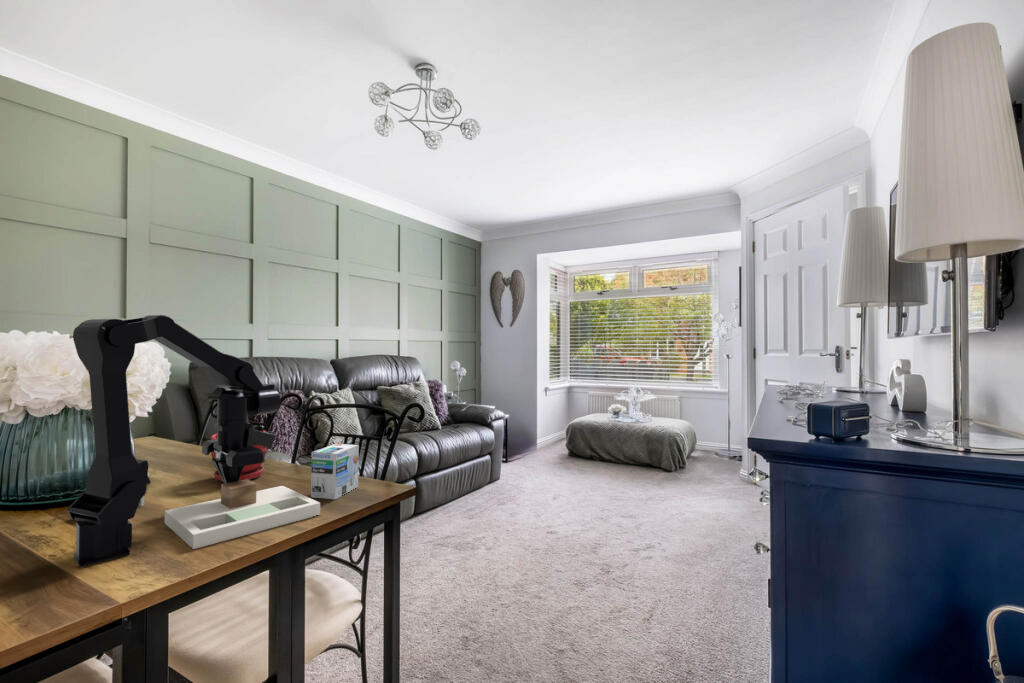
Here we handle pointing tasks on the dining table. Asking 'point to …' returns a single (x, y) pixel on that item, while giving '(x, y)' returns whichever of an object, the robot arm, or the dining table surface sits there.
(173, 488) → the dining table surface
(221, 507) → the tray
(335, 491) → the light bulb box
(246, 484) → the walnut block
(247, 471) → the plant pot
